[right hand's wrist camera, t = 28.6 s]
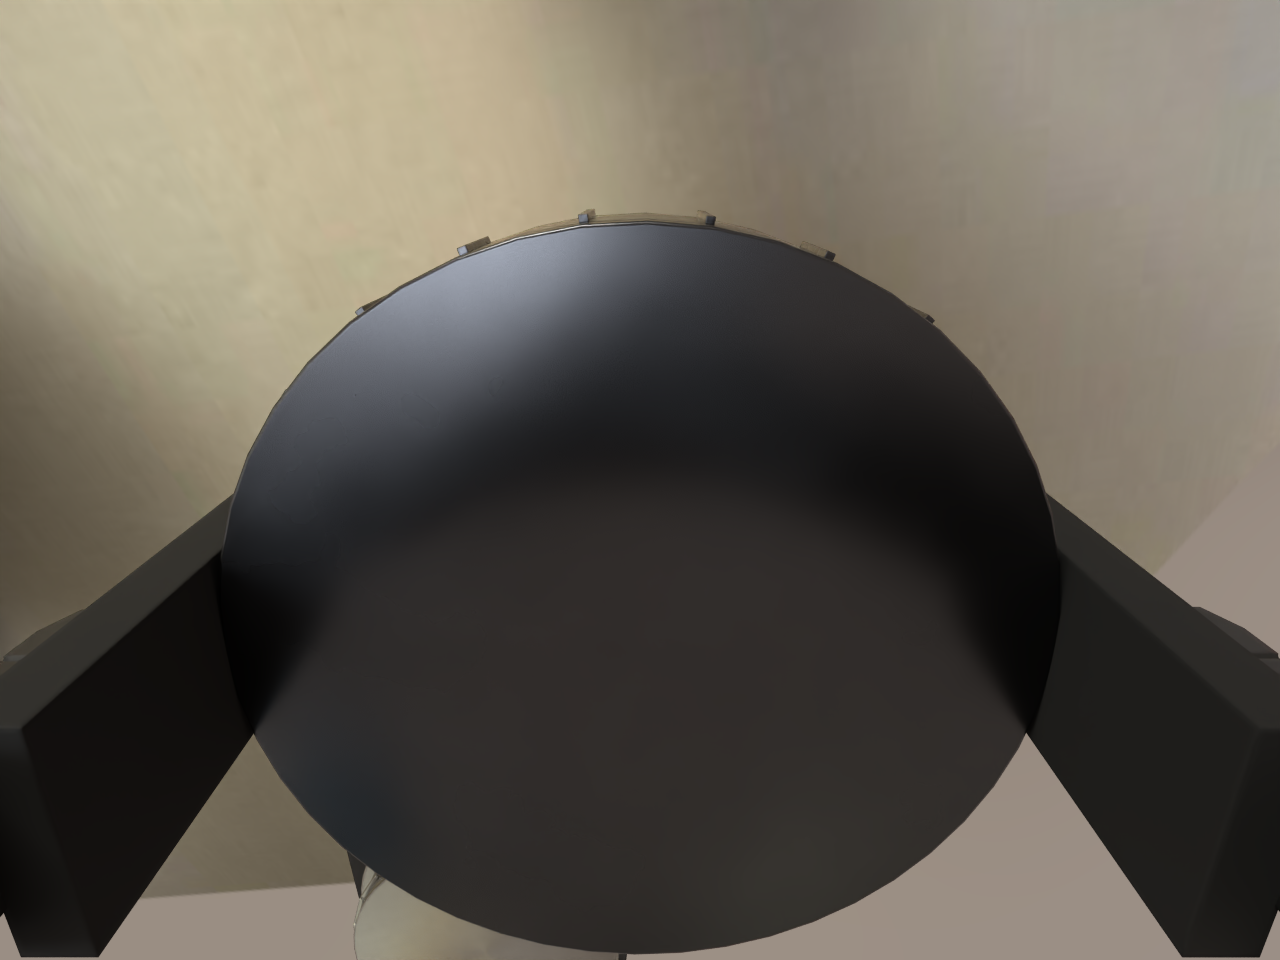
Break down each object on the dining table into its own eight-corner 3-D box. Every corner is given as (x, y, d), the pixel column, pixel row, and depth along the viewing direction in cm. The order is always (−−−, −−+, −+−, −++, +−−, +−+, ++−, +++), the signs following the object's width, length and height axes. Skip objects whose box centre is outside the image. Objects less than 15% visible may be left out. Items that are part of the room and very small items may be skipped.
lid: (739, 933, 15) (754, 1046, 13) (181, 684, 13) (101, 772, 11) (1150, 466, 11) (1252, 524, 9) (484, 32, 9) (445, -4, 7)
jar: (486, 741, 45) (398, 1065, 29) (433, 598, 42) (298, 872, 25) (649, 709, 44) (653, 1024, 28) (607, 561, 41) (585, 819, 24)
